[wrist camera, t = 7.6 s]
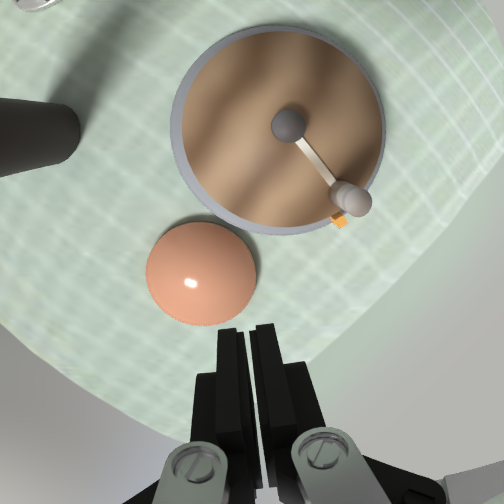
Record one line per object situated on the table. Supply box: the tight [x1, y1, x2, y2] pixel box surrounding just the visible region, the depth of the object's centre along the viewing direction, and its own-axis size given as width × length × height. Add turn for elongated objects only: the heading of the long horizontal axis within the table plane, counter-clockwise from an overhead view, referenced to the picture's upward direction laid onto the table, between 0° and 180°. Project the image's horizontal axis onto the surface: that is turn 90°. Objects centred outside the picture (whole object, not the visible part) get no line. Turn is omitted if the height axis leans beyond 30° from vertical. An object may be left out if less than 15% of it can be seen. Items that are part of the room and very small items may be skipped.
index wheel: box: [182, 31, 383, 227], centre depth 26 cm, size 19×19×7 cm
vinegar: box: [0, 98, 80, 177], centre depth 20 cm, size 7×7×20 cm
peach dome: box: [146, 222, 256, 326], centre depth 35 cm, size 12×12×1 cm
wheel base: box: [170, 25, 386, 236], centre depth 29 cm, size 22×22×3 cm
